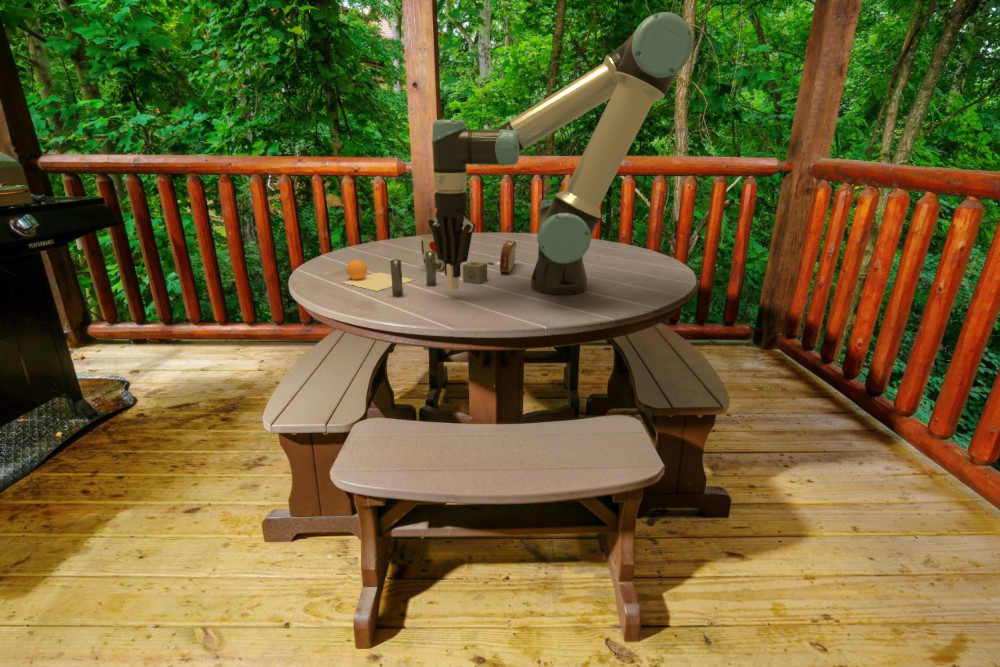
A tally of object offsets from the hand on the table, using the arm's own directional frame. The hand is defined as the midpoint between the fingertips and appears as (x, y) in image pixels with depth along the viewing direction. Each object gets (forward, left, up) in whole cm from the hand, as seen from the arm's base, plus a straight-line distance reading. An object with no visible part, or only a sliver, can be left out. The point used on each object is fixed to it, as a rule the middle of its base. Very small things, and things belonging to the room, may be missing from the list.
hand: (453, 289), depth 131 cm
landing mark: (+27, 0, -2) cm, 27 cm away
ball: (+33, +2, 0) cm, 33 cm away
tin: (+6, -33, -3) cm, 34 cm away
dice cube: (+6, -16, -3) cm, 18 cm away
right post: (+13, -6, -2) cm, 15 cm away
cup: (+24, -20, -3) cm, 31 cm away
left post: (+13, +6, -2) cm, 15 cm away
